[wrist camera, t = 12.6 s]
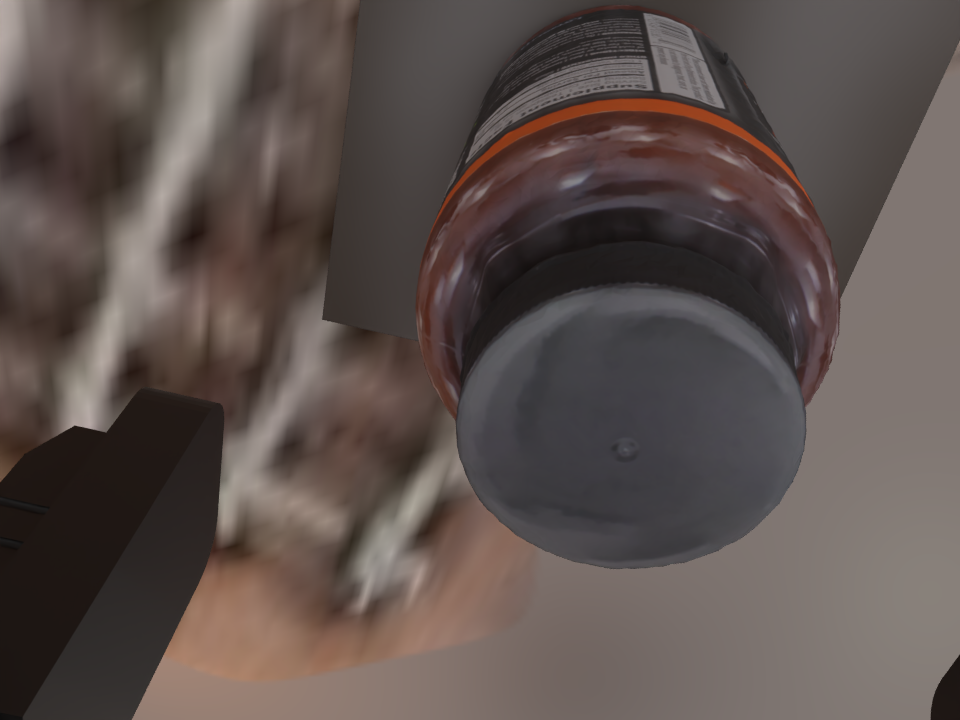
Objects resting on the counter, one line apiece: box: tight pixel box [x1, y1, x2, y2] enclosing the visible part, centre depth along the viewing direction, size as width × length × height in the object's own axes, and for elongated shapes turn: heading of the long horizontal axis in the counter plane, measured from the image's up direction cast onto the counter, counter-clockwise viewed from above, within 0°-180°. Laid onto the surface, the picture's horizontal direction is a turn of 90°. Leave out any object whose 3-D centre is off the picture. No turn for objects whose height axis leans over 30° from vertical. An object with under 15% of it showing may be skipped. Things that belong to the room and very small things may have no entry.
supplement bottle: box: [415, 5, 840, 569], centre depth 15 cm, size 6×6×11 cm
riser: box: [322, 0, 960, 341], centre depth 22 cm, size 12×12×4 cm
